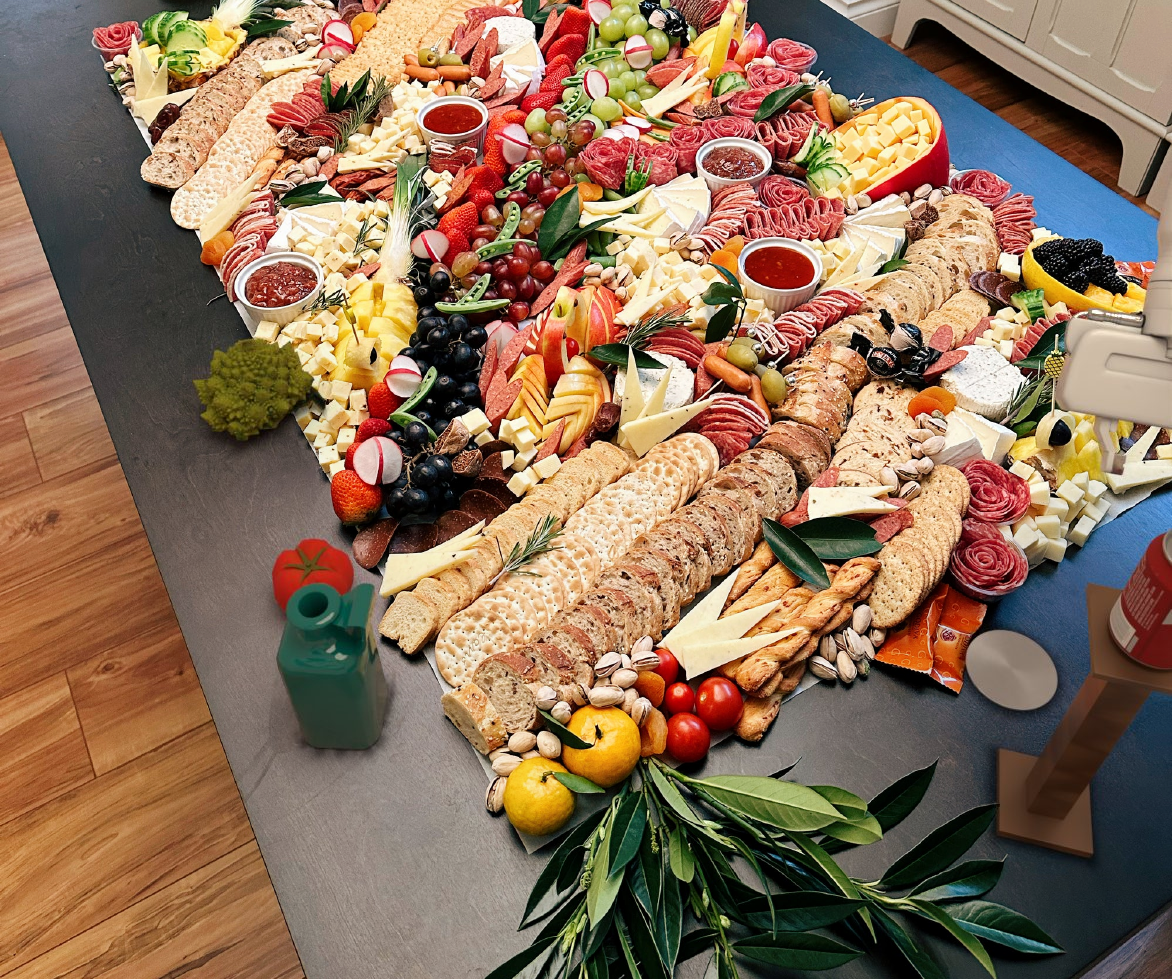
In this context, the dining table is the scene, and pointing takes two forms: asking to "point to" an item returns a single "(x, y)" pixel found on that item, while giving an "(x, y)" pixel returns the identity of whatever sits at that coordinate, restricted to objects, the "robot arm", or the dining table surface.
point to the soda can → (1147, 608)
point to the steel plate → (1011, 670)
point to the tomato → (311, 569)
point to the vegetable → (255, 387)
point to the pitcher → (333, 666)
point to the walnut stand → (1076, 743)
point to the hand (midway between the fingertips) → (1169, 484)
